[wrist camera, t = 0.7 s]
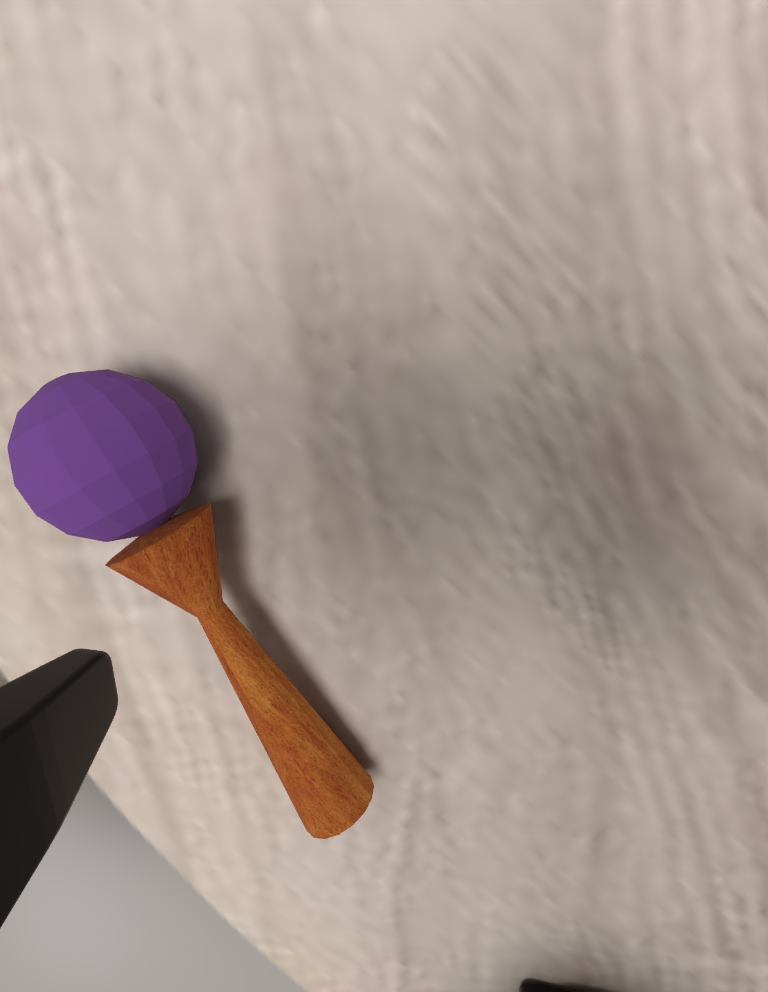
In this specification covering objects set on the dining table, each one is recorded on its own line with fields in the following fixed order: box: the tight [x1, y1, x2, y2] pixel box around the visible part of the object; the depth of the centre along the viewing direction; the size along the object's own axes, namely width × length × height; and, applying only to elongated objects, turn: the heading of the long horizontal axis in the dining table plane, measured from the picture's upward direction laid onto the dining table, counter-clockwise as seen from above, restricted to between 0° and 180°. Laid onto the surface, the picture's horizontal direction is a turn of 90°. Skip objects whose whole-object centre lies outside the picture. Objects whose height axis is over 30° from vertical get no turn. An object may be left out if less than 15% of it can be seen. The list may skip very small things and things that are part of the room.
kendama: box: [8, 370, 374, 839], centre depth 22 cm, size 6×6×20 cm
